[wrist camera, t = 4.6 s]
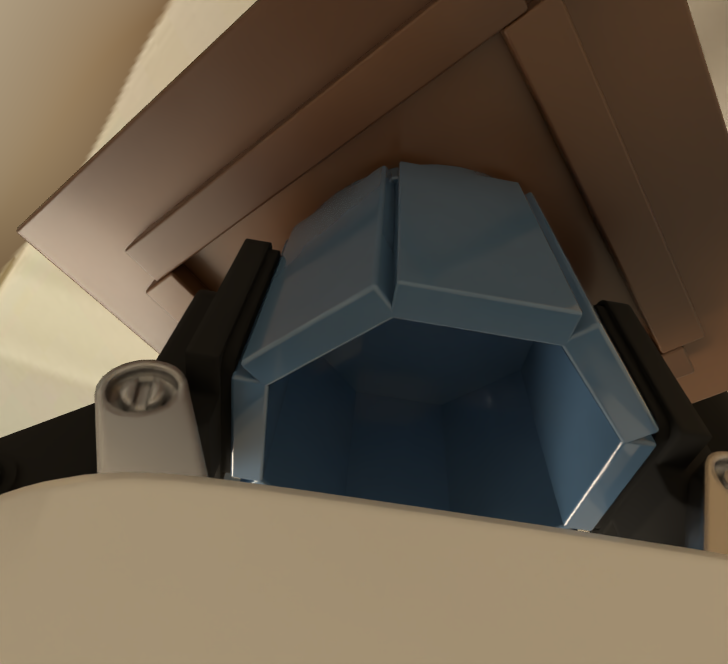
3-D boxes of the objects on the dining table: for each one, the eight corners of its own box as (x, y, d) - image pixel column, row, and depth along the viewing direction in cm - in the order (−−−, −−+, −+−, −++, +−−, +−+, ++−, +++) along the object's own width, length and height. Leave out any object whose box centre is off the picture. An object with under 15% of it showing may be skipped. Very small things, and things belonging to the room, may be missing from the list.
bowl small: (226, 267, 12) (143, 418, 8) (478, 93, 10) (530, 194, 6) (385, 431, 16) (380, 599, 12) (609, 332, 13) (702, 505, 9)
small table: (212, 85, 25) (-3, 243, 12) (468, -145, 20) (606, -338, 6) (377, 290, 31) (358, 541, 18) (605, 159, 26) (816, 381, 13)
